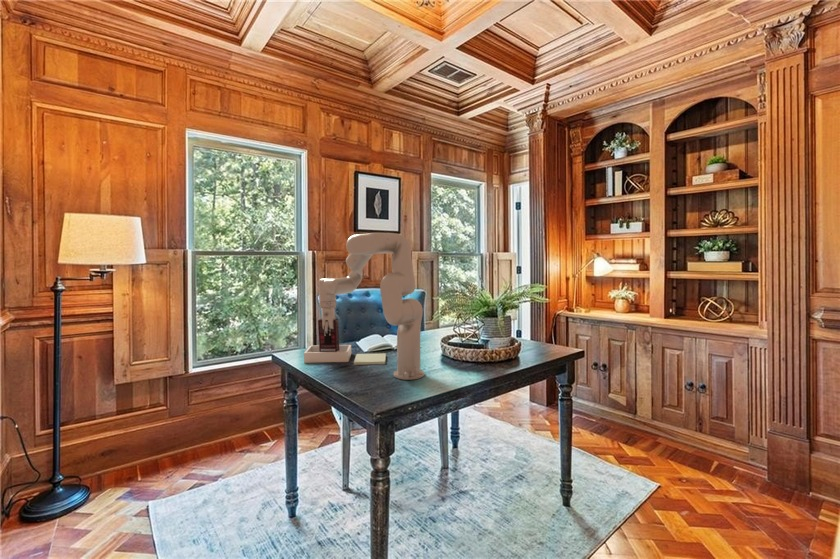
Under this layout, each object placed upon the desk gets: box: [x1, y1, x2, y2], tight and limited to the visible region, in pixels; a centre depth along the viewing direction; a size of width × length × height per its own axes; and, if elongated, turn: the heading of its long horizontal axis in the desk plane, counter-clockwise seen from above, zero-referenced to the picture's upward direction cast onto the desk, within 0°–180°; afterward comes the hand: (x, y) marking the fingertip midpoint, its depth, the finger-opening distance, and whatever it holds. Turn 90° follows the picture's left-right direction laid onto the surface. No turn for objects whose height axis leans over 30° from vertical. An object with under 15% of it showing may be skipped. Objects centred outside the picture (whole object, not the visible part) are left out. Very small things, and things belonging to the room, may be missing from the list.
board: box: [353, 352, 387, 366], centre depth 190 cm, size 14×14×1 cm
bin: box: [303, 344, 352, 364], centre depth 193 cm, size 14×20×4 cm
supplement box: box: [317, 318, 340, 352], centre depth 192 cm, size 9×5×16 cm, turn 84°
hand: (329, 342), depth 193 cm, fingers closed on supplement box, 5 cm apart
